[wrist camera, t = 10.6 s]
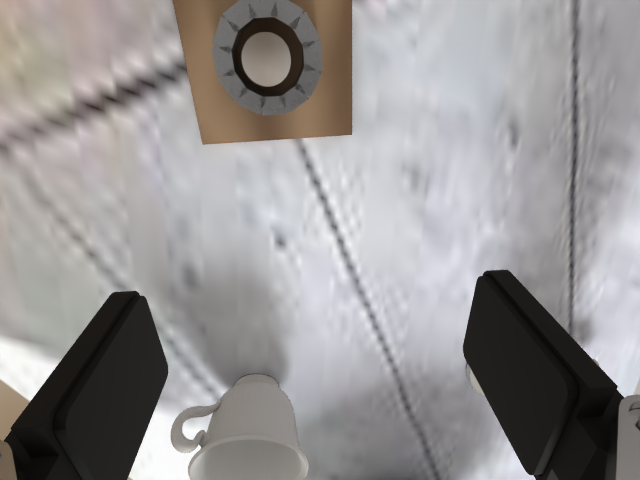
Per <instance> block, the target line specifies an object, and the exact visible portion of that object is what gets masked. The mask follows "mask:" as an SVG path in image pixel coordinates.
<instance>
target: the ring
mask: <svg viewBox="0 0 640 480" xmlns="http://www.w3.org/2000/svg"><path fill="white" fill-rule="evenodd" d="M303 10H304V9H302V8H300V7H299V6H297V5H296V4H294V3H292V2H291V1H289V0H239V1H238V2H237V3H235V4H234V5H233V6H232V7H230V8H229V9H228V10H227V11H225V12H224V13H223V15H224V17H222V16H221V18H220V21H219V24H218V27H217V30H216V33H215V36H214V39H213V42H212V45H214V46H216V47H212V53H213V58H214V64H215V70H216V75H217V77H218V76H221V77H220V78H219V79H218V80H219V81H220V83H221V84H222V86H223V87H224V88H225V90H226V91H227V92H228V94H229V95H230V96H231V98H232V99H233V101H234V102H235V101H237V100H238V101H237V104H238V105H240V106H242V107H244V108H246V109H248V110H250V111H252V112H255V113H257V114H259V115H260V114H261V111H262V116H265V115H279V114H287V111H288V113H290V112H291V111H293V110H294V109H296V108H297V107H298V106H300V105H301V104H303V103H304V102H306V101H307V100H308V99H309V97H308V96H310V97H311V95H312V93H313V91H314V89H315V87H316V85H317V83H318V80H319V78H320V76H321V74H322V72H321V71H320V70H323V67H322V43H321V41H320V40H319V39H320V36H319V34H318V33H317V31H316V29H315V27H314V25H313V24H312V22H311V20H310V18H309V17H308V15H307V13H306V12H305V13H303V14H302V12H303ZM259 19H277V20H279V21H280V22H282V23H284V24H285V25H287V26H289V27H291V28H292V30H293V31H294V33H295V35H296V36H297V38H298V40H299V42H300V43H301V45H302V60H303V64H302V67H301V69H300V71H299V74H298V76H297V78H296V80H295V81H294V82H292V83H291V84H290V85H288V86H287V87H286V88H284V89H283V90H274V91H265V90H263V89H261V88H259V87H257V86H255V85H253V84H251V83H250V82H249V80H248V79H247V78H246V76H245V75H244V73H243V72H242V70H241V69H240V67H239V60H238V53H237V47H238V44H239V41H240V39H241V36H242V33H243V31H244V30H245V29H246V28H247V27H249V26H250V25H251V24H252V23H254V22H255V21H256V20H259Z"/></svg>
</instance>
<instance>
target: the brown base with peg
mask: <svg viewBox="0 0 640 480" xmlns="http://www.w3.org/2000/svg"><path fill="white" fill-rule="evenodd" d="M238 1H239V0H173V4H174V9H175V14H176V19H177V23H178V28H179V33H180V38H181V43H182V47H183V52H184V57H185V62H186V67H187V71H188V76H189V81H190V86H191V91H192V95H193V100H194V105H195V110H196V115H197V119H198V124H199V129H200V134H201V139H202V143H203V144H218V143H233V142H249V141H264V140H279V139H294V138H310V137H325V136H340V135H352V0H289V1H291V2H292V3H294V4H296V5H297V6H299V7H300V8H302V9H304V10H303V12H302V14H303V13H305V12H306V13H307V15H308V17H309V18H310V20H311V22H312V24H313V25H314V27H315V29H316V31H317V33H318V34H319V36H320V39H319V40H320V41H321V43H322V67H323V70H320V71H321V72H322V74H321V76H320V78H319V80H318V83H317V85H316V87H315V89H314V91H313V93H312V95H311V97H310V96H308V97H309V99H308V100H307V101H306V102H304V103H303V104H301V105H300V106H298V107H297V108H296V109H294V110H293V111H291V112H290V113H288V111H287V114H279V115H265V116H262V111H261V114H260V115H259V114H257V113H255V112H252V111H250V110H248V109H246V108H244V107H242V106H240V105H238V104H237V101H238V100H237V101H235V102H234V101H233V99H232V98H231V96H230V95H229V94H228V92H227V91H226V90H225V88H224V87H223V86H222V84H221V83H220V81H219V80H218V79H219V78H220V77H221V76H218V77H217V75H216V70H215V64H214V58H213V53H212V47H216V46H214V45H212V42H213V39H214V36H215V33H216V30H217V27H218V24H219V21H220V18H221V16H222V17H224V15H223V13H224V12H225V11H227V10H228V9H229V8H230V7H232V6H233V5H234V4H235V3H237V2H238ZM237 53H238V60H239V67H240V69H241V70H242V72H243V73H244V75H245V76H246V78H247V79H248V80H249V82H250V83H251V84H253V85H255V86H257V87H259V88H261V89H263V90H265V91H274V90H283V89H284V88H286V87H287V86H288V85H290V84H291V83H292V82H294V81H295V80H296V78H297V76H298V74H299V71H300V69H301V67H302V64H303V60H302V45H301V43H300V42H299V40H298V38H297V36H296V35H295V33H294V31H293V30H292V28H291V27H289V26H287V25H285V24H284V23H282V22H280V21H279V20H277V19H259V20H256V21H255V22H254V23H252V24H251V25H250V26H249V27H247V28H246V29H245V30H244V31H243V33H242V36H241V39H240V41H239V44H238V47H237Z"/></svg>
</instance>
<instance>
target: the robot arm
mask: <svg viewBox="0 0 640 480" xmlns="http://www.w3.org/2000/svg"><path fill="white" fill-rule="evenodd" d="M463 353H464V357H465V359H466V361H467V363H468V364H467V369H466V374H467V378H468V380H469V382H470V384H471V386H472V388H473V389H474V390H475V391H476V392H478V393H479V394H481V395H483V396H485V397H486V398H487V400H488V402H489V404H490V406H491V408H492V410H493V411H494V413H495V415H496V417H497V419H498V421H499V423H500V425H501V426H502V428H503V430H504V432H505V434H506V436H507V438H508V440H509V441H510V443H511V445H512V447H513V449H514V451H515V453H516V454H517V456H518V458H519V460H520V462H521V464H522V466H523V467H524V469H525V471H526V472H527V473H528V474H529V475H534V477H535V479H536V480H640V395H631V396H627V397H625V398H624V397H623V396H622V395H621V394H620V393H619V392H618V390H617V387H618V386H617V385H616V384H615V383H614V382H613V381H612V380H611V379H610V378H609V377H608V376H607V374H606V373H605V372H604V371H603V370H602V369H601V368H600V367H599V364H598V362H597V361H596V360H595V359H592V358H591V357H590V356H589V355H588V354H587V353H586V352H585V351H584V350H583V349H582V348H581V347H580V346H579V345H578V344H577V342H576V341H575V340H574V339H573V338H572V337H571V336H570V335H569V334H568V333H567V332H566V331H565V330H564V329H563V328H562V327H561V325H560V324H559V323H558V322H557V321H556V320H555V319H554V318H553V317H552V316H551V315H550V314H549V313H548V312H547V311H546V309H545V308H544V307H543V306H542V305H541V304H540V303H539V302H538V301H537V300H536V299H535V298H534V297H533V296H532V295H531V293H530V292H529V291H528V290H527V289H526V288H525V287H524V286H523V285H522V284H521V283H520V282H519V281H518V280H517V279H516V277H515V276H514V275H513V274H512V273H511V272H510V271H508V270H492V271H486V272H484V274H483V276H480V277H478V279H477V283H476V287H475V292H474V297H473V301H472V306H471V311H470V316H469V320H468V325H467V330H466V334H465V339H464V344H463ZM167 376H168V364H167V361H166V358H165V355H164V352H163V349H162V346H161V343H160V340H159V336H158V333H157V330H156V327H155V324H154V321H153V318H152V315H151V312H150V309H149V306H148V303H147V300H146V298H145V297H144V296H140V295H139V293H138V292H136V291H126V292H114V293H112V294H111V295H110V296H109V298H108V299H107V300H106V302H105V303H104V304H103V306H102V307H101V308H100V310H99V311H98V312H97V314H96V315H95V316H94V318H93V319H92V320H91V322H90V323H89V324H88V326H87V327H86V328H85V330H84V331H83V332H82V334H81V335H80V336H79V338H78V339H77V340H76V342H75V343H74V344H73V346H72V347H71V348H70V350H69V351H68V352H67V354H66V355H65V356H64V358H63V359H62V360H61V362H60V363H59V364H58V366H57V367H56V368H55V370H54V371H53V372H52V374H51V375H50V376H49V378H48V379H47V380H46V382H45V383H44V384H43V386H42V387H41V388H40V390H39V391H38V392H37V394H36V395H35V396H34V398H33V399H32V400H31V402H30V403H29V404H28V406H27V407H26V408H25V410H24V411H23V412H22V414H21V415H20V416H19V418H18V419H17V420H16V422H15V423H14V424H13V426H12V427H11V432H10V433H9V435H8V436H7V437H6V439H5V440H4V441H2V440H0V480H127V478H128V476H129V473H130V471H131V468H132V466H133V463H134V461H135V458H136V455H137V453H138V450H139V448H140V445H141V443H142V440H143V438H144V435H145V433H146V430H147V427H148V425H149V422H150V420H151V417H152V415H153V412H154V410H155V407H156V405H157V402H158V399H159V397H160V394H161V392H162V389H163V387H164V384H165V382H166V379H167Z"/></svg>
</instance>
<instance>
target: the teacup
mask: <svg viewBox="0 0 640 480" xmlns="http://www.w3.org/2000/svg"><path fill="white" fill-rule="evenodd" d="M211 413H213V415H212V418H211V421H210V424H209V427H208V430H207V433H206V432H205V431H204V430H201V431H199V432H198V433H197V435H196V436H195V438H194V440H189V439H187V438H186V437H185V436H184V435H183V433H182V425H183V423H184V422H185V421H186V420H187V419H190V418H194V417H204V416H207V415H209V414H211ZM171 442H172V445H173V447H174V448H175V449H176V450H177V451H179V452H182V453H190V452H192V451H193V450H194V449H195V448H196V447H197V446H198V444H199V445H200V446H201V449H200V450H199V451H198V452H197V453H196V454H195V455H194V456H193V458H192V459H191V461H190V463H189V466H188V474H189V477H190V479H191V480H304V479H305V477H306V475H307V473H308V468H309V465H308V461H307V458H306V457H305V455H304V454H303V452H302V451H301V450H300V446H299V441H298V434H297V427H296V421H295V415H294V410H293V407H292V404H291V401H290V399H289V398H288V396H287V395H286V394H285V393H284V392H283V391H282V390H281V389H280V388H279V385H278V383H277V382H276V381H275V380H274V379H273V378H271V377H269V376H267V375H262V374H251V375H247V376H244V377H242V378H240V379H239V380H238V381H237V382H236V383H235V385H234V387H233V388H231V389H230V390H228V391H227V392H226V393H225V394H224V395H223V396H222V397H221V399H220V400H219V401H218V402H217V403H216V404H214V405H211V406H196V407H191V408H188V409H186V410H184V411H183V412H182V413H180V414H179V416H178V417H177V418H176V419H175V421H174V423H173V425H172V429H171Z"/></svg>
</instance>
